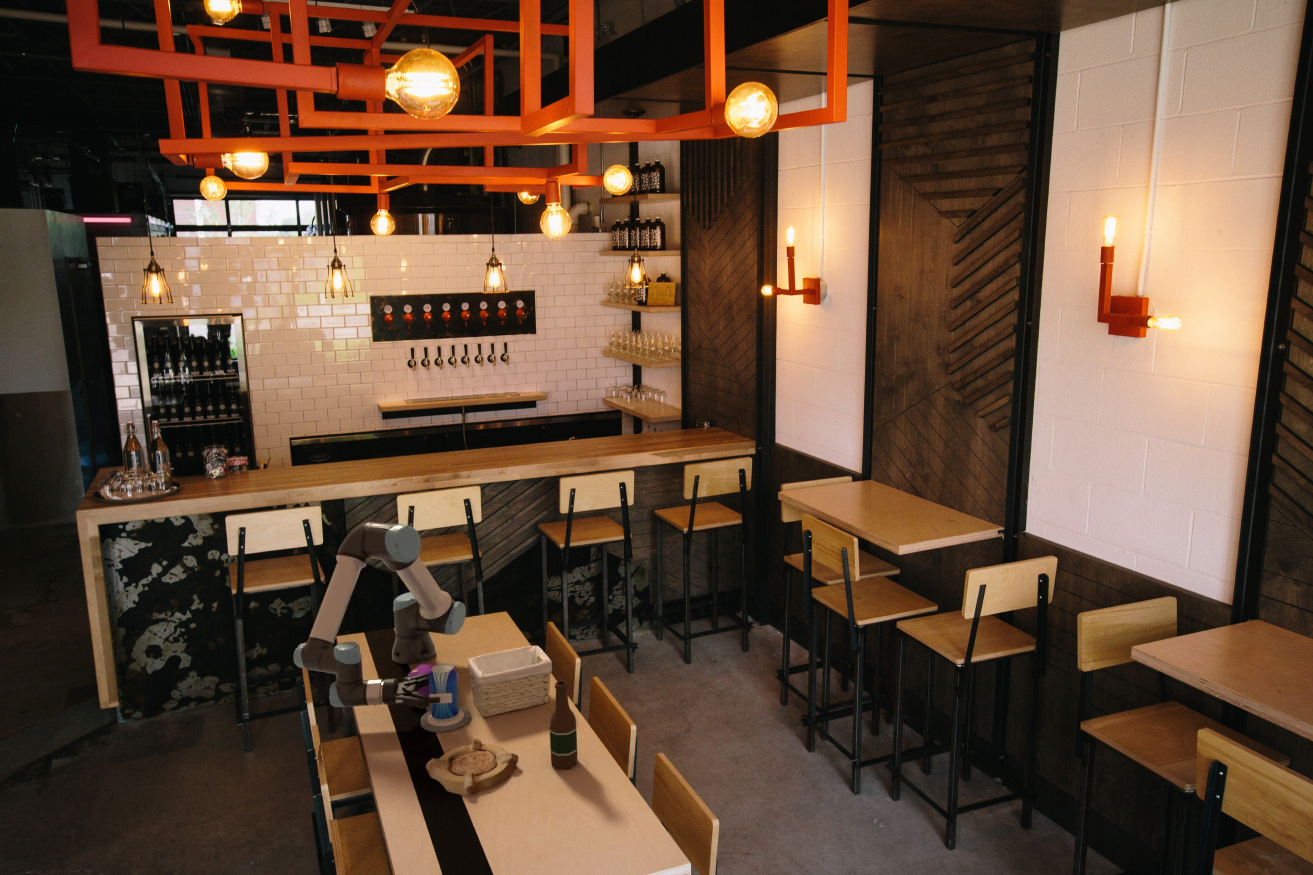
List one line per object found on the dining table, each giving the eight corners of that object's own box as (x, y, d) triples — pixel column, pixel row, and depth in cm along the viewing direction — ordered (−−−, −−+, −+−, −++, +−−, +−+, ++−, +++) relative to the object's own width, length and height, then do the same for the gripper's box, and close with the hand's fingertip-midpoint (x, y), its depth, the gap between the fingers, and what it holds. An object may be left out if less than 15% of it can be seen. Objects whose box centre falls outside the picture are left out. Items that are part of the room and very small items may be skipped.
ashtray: (441, 807, 224) (439, 789, 223) (420, 763, 245) (419, 747, 244) (528, 781, 235) (528, 764, 234) (501, 741, 256) (501, 726, 255)
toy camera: (452, 685, 292) (450, 657, 290) (438, 705, 278) (436, 675, 276) (421, 684, 293) (419, 656, 291) (405, 704, 279) (403, 675, 278)
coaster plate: (425, 709, 275) (425, 706, 275) (473, 706, 276) (473, 703, 276) (416, 733, 260) (416, 730, 260) (467, 730, 262) (467, 727, 261)
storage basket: (539, 683, 292) (537, 642, 289) (555, 704, 277) (553, 660, 275) (468, 700, 281) (465, 657, 279) (481, 722, 267) (478, 677, 264)
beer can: (434, 711, 272) (430, 662, 269) (461, 709, 273) (458, 661, 270) (429, 724, 264) (426, 674, 261) (457, 722, 265) (454, 672, 262)
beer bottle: (583, 758, 245) (579, 678, 241) (571, 772, 238) (568, 690, 234) (558, 753, 248) (554, 674, 243) (545, 768, 240) (541, 687, 236)
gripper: (393, 684, 278) (461, 681, 280) (375, 723, 254) (449, 718, 255) (391, 662, 277) (459, 659, 278) (373, 699, 252) (448, 694, 254)
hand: (455, 687), depth 267 cm, fingers open, 13 cm apart
